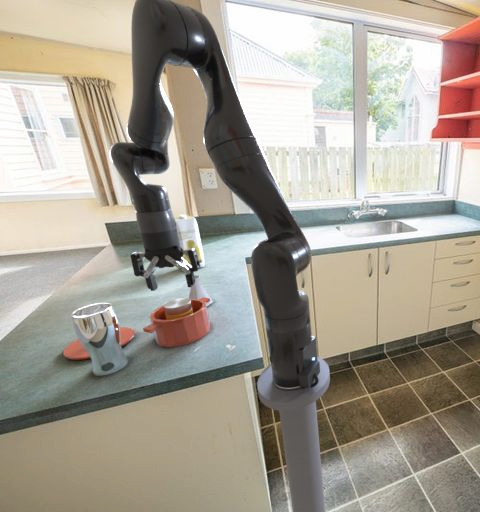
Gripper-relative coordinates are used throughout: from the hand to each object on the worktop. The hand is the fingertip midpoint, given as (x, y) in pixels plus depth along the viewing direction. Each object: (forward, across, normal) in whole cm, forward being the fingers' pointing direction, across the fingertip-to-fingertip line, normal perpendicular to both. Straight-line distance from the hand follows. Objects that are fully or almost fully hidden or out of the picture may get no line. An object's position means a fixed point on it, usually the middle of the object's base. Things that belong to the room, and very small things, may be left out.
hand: (173, 287), depth 78 cm
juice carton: (+14, -16, +58) cm, 62 cm away
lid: (+13, -19, -1) cm, 23 cm away
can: (+13, 0, 0) cm, 13 cm away
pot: (+14, 0, 0) cm, 14 cm away
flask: (+14, -1, +18) cm, 22 cm away
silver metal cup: (+14, -11, -12) cm, 21 cm away
